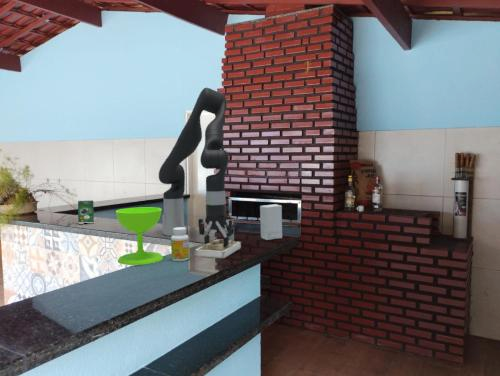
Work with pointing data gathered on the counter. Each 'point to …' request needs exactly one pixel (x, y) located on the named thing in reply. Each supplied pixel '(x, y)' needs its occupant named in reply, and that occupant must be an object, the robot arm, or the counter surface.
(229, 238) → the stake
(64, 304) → the counter surface
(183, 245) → the supplement bottle
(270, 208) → the skincare box
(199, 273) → the counter surface
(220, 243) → the tan irregular block
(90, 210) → the coffee box
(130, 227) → the wineglass
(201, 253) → the tray
